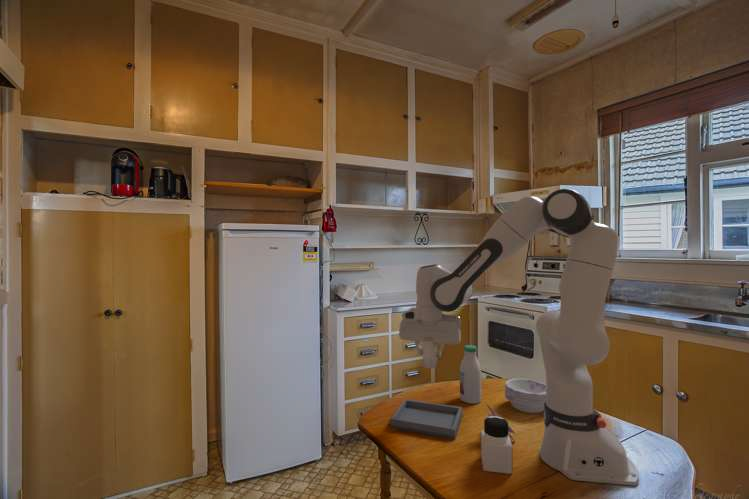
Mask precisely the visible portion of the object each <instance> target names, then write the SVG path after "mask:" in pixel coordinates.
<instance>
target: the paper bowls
mask: <svg viewBox="0 0 749 499" xmlns="http://www.w3.org/2000/svg"><path fill="white" fill-rule="evenodd" d="M504 397H505V399H506V400H507V401H508V402H510V403H511V405H512V407H513V408H514V409H516V410H517V411H520V412H522V413H528V414H538V413H541V412H544V403H545V402H546V383H544V382H542V381H538V380H534V379H528V378H511V379H507V380H506V381H505V383H504Z"/></svg>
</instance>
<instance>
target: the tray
mask: <svg viewBox="0 0 749 499" xmlns="http://www.w3.org/2000/svg"><path fill="white" fill-rule="evenodd" d="M462 419H463V407H461V406H455V405H449V404H441V403H436V402H435V403H434V402H429V401H427V402H426V401H420V400H414V399H407V398H404V400H403V401H402V402H401V403H400V405H399V407H398V408H397V409H396V411H395V412H394V414H393V415H392V416H391V418H390V429H391V430H393V429H394V430H397V431H398V430H399V431H404V432H410V433H416V434H421V435H427V436H433V437H438V438H444V439H450V440H454V441H456V439H457V435H458V432H459V429H460V424H461V422H462Z"/></svg>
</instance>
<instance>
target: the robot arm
mask: <svg viewBox="0 0 749 499" xmlns="http://www.w3.org/2000/svg"><path fill="white" fill-rule="evenodd" d="M543 230H548V231H550V232H552V233H555V234H557V235H560V236H561V237H565V238H569V242H570V244H569V245H570V246H569V250H568V253H567V257H566V260H565V264H564V267H563V271H562V274H561V278H560V281H559V285H558V291H559V296H560V309H553V310H547V311H544V312H542V313H541V315H539V317H538V318H537V319H536V323H535V328H536V332H537V335H538V339H539V342H540V348H541V355H542V360H543V366H544V371H545V384H546V402H545V403H544V409H543V422H544V423H543V424H544V430H543V431H544V432H543V438H542V442H541V446H540V449H539V451H538V452H539V457H540V458H541V460H542V461H543V462H544V463H545V464H546V465H548V466H550V467H551V468H553V469H554V470H556V471H557V472H558V471H559V472H560V473H562V474H563V475H564V476H565V477H567V478H568V479H570V480H572V481H578V482H579V481H580V482H590V483H600V484H614V485H621V486H622V485H624V486H635V487H636V486H637V485H639V482H640V476H639V472H638V469H637V467H636V465H635V463H634V462H633V461H632V460H631V459H630V458H629V456H627V452H626V449H625V447H624V445H623V444H622V442H621V440H619V438H618V437H616V436H615V435H614V434H613V433H612V432H610V431H609V430H607V429H606V427H607V422H606V419H604V418H603V417H602V414H600V413H599V411H598V410H597V409H596V408H593V395H594V394H593V393H594V390H593V379H592V376H591V375H590V372H589V370H588V368H587V366H594V365H598V364H599V363H600V364H601V363H602V362H603V361H604V360H605V359H606V358H607V356H608V355H609V352H610V349H611V346H610V343H611V342H610V340H609V337H608V334H607V332H606V325H605V324H606V322H605V321H606V320H605V310H606V309H605V307H606V298H607V294H608V290H609V286H610V282H611V280H612V279H611V278H612V276H613V272H614V268H615V264H616V260H617V254H618V246H619V244H618V243H619V236H618V233H617V231H616V230H615V229H614V228H612V227H611V226H609V225H606V224H603V223H599V222H596V221H595V220H594V215H593V212H592V208H591V205H590V203H589V202H588V200H586V198H585V197H584V196H583V194H582V193H580V192H579V191H577V190H575V189H571V188H561V189H557V190H554V191H552V192H551V193H550V194H548V196H547V197H546V198H545V200H542V199H541V198H540V197H539V198H538V197H536V196H533V195H524V196H523V197H521V198H520V199H518V200H517V201H516V202H515V203H513V204H512V205H511V206H510V207H509V208H508V209H507V210H505V211H504V212H503V213H502V215H500V216H499V218H498V219H496V221H495V222H494V223H493V225H492V226H491V227H490V228H489V230H488V231H487V233H486V234H485V235H484V237H483V238H482V239H481V241H480V242H479V244H478V245H477V247H476V248H475V249H474V250H473V251H472V252H471V253H470V255H468V256H467V258H466V259H465V260H464V261H463V262H462V263H461V264H459V265H458V267H457V268H456V269H454V270H453V271H452V272H451V271H449V270H448V269H446V268H444V267H443V266H442V265H441V264H438V263H436V264H429V265H424V266H420V267H419V268H418V270H417V273H416V279H415V281H416V282H415V293H416V296H417V298H416V302H415V307H413V308H409V309H407V310H405V311H403V312H402V313H401V316H402V319H401V321H400V323H399V330H398V331H399V333H398V334H399V335H398V336H399V338H400V339H401V340H402V341H412V342H413V341H414V346H415V347H416V349H417V354H418V355H422V356H423V347H422V346H421V345H420V343H421V342H423V341H424V337H433V342H434V343H437V344H439V345H438V346H439V347H440V348H439V349H437V350H436V356H437V357H442V350H443V348H444V347H445V346H446V345H445V344H447V345H457V346H458V345H459V344H460V343H461V341H462V335H461V328H462V319H461V317H460V316H457V315H456V314H445V313H450V312H454V311H456V310H457V309H459V307H460V306H462V305H464V304H465V303H466V302H468V301H469V300H470V299H471V298H472V295H473V293H474V289H473V284H474V283H475V282H476V281H477V280H478V279H479V278H480V277H481V276H482V275H483V274H484V273H485V272H486V271H487V270H488V269H490V268H491V267H492V266H494V265H495V264H497V263H499V262H501V261H503V260H507V259H508V258H511V257H512V256H513V255H515V254H516V253H517V252H519V251H520V250H522V249H523V248H524V247H525V246H526V245H527V244H528V243H529V242H530V241H531V240H532V239H533V238H534V237H535V236H536V235H537V234H538V233H539V232H541V231H543ZM444 312H445V313H444Z"/></svg>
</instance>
